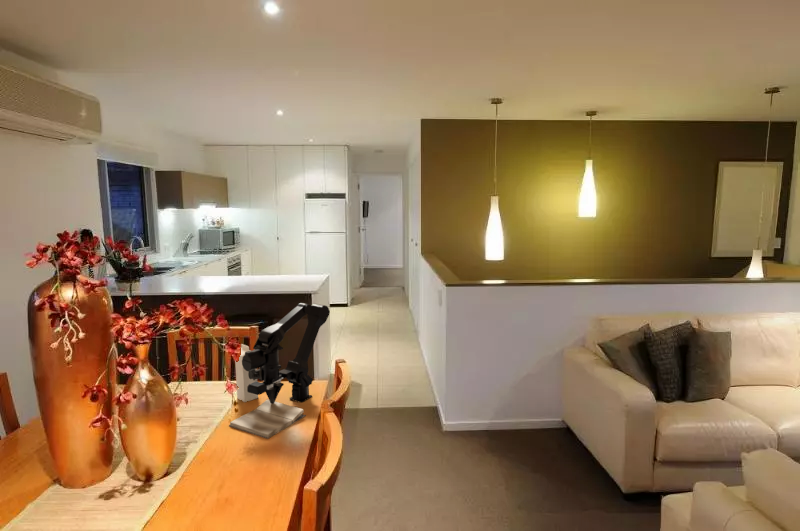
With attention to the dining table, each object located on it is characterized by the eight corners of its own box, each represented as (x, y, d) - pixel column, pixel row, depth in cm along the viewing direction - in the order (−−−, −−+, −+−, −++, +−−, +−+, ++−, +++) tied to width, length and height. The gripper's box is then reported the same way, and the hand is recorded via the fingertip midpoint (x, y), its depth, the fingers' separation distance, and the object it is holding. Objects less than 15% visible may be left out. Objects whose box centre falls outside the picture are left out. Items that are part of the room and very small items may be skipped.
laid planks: (255, 412, 170) (255, 409, 170) (291, 423, 162) (291, 420, 161) (230, 425, 160) (230, 422, 160) (267, 437, 152) (267, 434, 152)
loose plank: (267, 401, 176) (267, 399, 175) (303, 411, 167) (303, 409, 167) (256, 411, 171) (255, 409, 171) (293, 422, 162) (292, 419, 162)
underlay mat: (268, 405, 177) (268, 404, 177) (305, 415, 168) (305, 415, 168) (228, 426, 161) (228, 425, 161) (267, 438, 152) (267, 438, 152)
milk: (244, 402, 180) (241, 348, 177) (237, 398, 184) (233, 345, 181) (258, 397, 184) (255, 344, 181) (250, 393, 188) (248, 341, 185)
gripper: (272, 352, 182) (274, 390, 184) (235, 367, 166) (237, 408, 168) (294, 357, 177) (295, 395, 179) (257, 372, 161) (259, 414, 163)
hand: (272, 403), depth 172 cm, fingers closed
